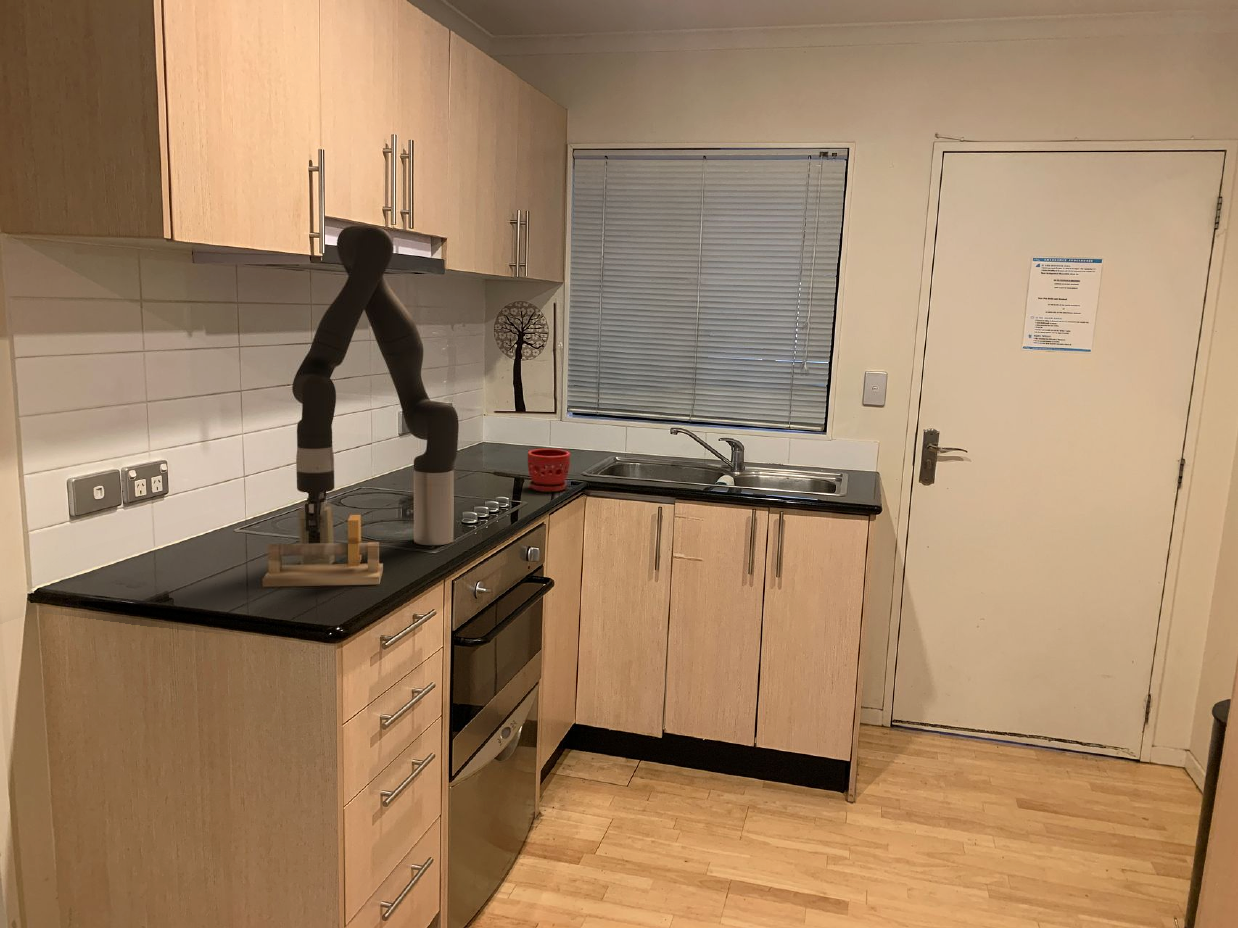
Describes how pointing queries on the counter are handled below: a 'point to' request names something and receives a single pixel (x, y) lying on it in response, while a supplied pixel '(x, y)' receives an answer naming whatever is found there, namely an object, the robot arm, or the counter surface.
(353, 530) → the orange block
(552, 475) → the plant pot
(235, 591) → the counter surface
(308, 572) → the pipe rig
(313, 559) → the skincare box
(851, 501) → the counter surface
